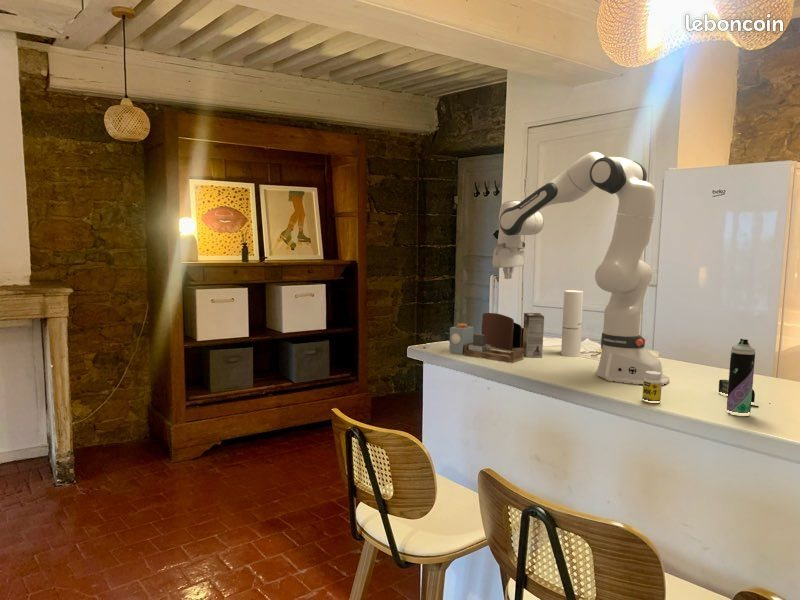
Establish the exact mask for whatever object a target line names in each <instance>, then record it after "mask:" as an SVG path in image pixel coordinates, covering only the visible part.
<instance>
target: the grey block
mask: <svg viewBox="0 0 800 600" xmlns="http://www.w3.org/2000/svg"><path fill="white" fill-rule="evenodd" d="M474 332H475V327H474V326H470V325H469V326H468V325H467V326H466V328H458V326H457V325H456V326H451V327H449V352H450V353H449V352H448V353H449V354H454V355H460V356H465V355H464V345H466V344H469V343H473V334H475V333H474Z"/></svg>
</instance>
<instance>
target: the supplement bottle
mask: <svg viewBox="0 0 800 600" xmlns="http://www.w3.org/2000/svg"><path fill="white" fill-rule="evenodd" d="M645 377H646V378H644V381H643V385H642V395H641V396H642V397H641V400H642V399H644V400H648V401H660V400H661V399H662V398H661V397H662V388H663V387H662V381H661V380H660V378H661V373H660V372H656V371H646V374H645ZM660 402H661V401H660Z"/></svg>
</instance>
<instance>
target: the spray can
mask: <svg viewBox="0 0 800 600" xmlns="http://www.w3.org/2000/svg"><path fill="white" fill-rule="evenodd" d="M739 340H740V341H739V342H738V343H737V344H735V345H734V346H732V347H731V350H730V359H729V372H728V380H729V383H728V396H727V397H726V398H727V399H726V409H727V410H729V411H732V412H738V413H748V412H750V413H751V410H752V409H751V408H752V405H751V399H752V389H753V384H754V375H755V374H754V372H755V359H756V349H755V348H754V347H752V346H751V344H750V343H749V339H745V338H744V339H743V338H740V339H739Z"/></svg>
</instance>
